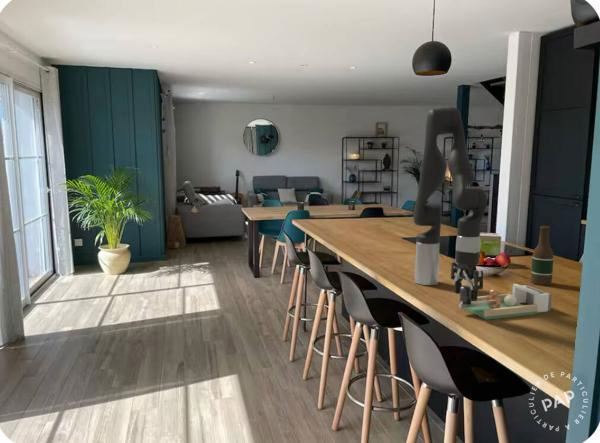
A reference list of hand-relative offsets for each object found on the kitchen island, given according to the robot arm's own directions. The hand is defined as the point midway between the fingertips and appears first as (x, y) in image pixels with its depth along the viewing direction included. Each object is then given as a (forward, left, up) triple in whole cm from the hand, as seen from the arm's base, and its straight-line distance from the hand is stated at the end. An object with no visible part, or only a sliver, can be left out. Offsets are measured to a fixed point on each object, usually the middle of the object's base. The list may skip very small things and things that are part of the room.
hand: (465, 296), depth 157 cm
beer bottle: (-24, +53, -6) cm, 59 cm away
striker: (0, +5, -4) cm, 7 cm away
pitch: (0, +13, -6) cm, 14 cm away
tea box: (-63, +53, -6) cm, 83 cm away
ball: (0, +18, -3) cm, 18 cm away
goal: (0, +26, -6) cm, 27 cm away
